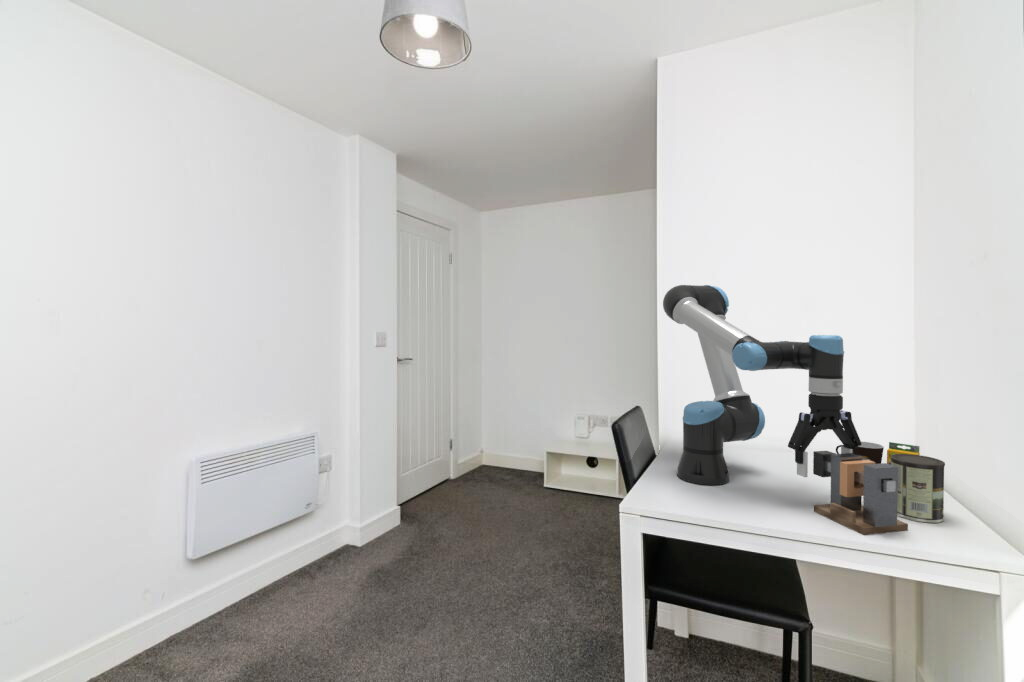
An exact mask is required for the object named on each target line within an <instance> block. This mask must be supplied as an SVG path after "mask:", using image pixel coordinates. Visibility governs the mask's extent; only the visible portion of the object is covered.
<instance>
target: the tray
mask: <svg viewBox="0 0 1024 682" xmlns="http://www.w3.org/2000/svg"><path fill="white" fill-rule="evenodd" d="M813 512H814V513H816V514H818V515H821V516H823V517H825V518H827V519H829V520H831V521H834V522H835V523H838V524H840V525H842V526H844V527H846V528H848V529H850V530H853V531H854V532H857V533H859V534H861V535H863V536H867V535H875V534H877V535H878V534H886V533H895V532H907V531H909V526H908V525H909V524H908V523H907V522H905V521H901V520H899V519H897V525H893V526H883V527H873V526H871V525H869V524H867V523H864V522H863V504H861V510H857V511H852V510H850V509H848V508H845V507H843V506H841V505H838V504H836V503H827V504H815V505H813Z"/></svg>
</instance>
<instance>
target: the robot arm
mask: <svg viewBox="0 0 1024 682" xmlns="http://www.w3.org/2000/svg"><path fill="white" fill-rule="evenodd" d="M662 301H663V302H662V307H663V311H664V312H665V314H666V316H668V318H669V319H671V320H672V321H674V322H675V323H677V324H678V325H685V326H686V327H688V328H689V329H691V330H693V331H694V332H695V333H697V336H698V339H699V344H700V346H701V350H702V354H703V357H704V361H705V364H706V369H707V373H708V375H709V378H710V379H709V380H710V382H711V386H712V390H713V393H714V396H715V397H714V399H713V400H701V401H694V402H693V401H692V402H691V403H688V404H687V405H685V406H684V408H683V414H682V415H683V416H682V422H683V423H682V427H683V428H682V429H683V431H682V433H683V434H682V435H683V436H682V437H683V439H682V440H683V441H682V444H683V446H682V454H681V457H680V459H679V462H678V465H677V467H676V468H677V469H676V471H677V475H676V476H677V477H678V478H679V479H681V480H683V481H686V482H687V483H692V484H697V485H704V486H718V485H719V486H720V485H724V484H727V483H729V481H730V471H729V469H728V466H727V462H726V460H725V456H724V443H730V442H742V441H743V442H744V441H745V442H746V441H748V440H749V441H750V440H753V439H756V438H758V436H760V435H761V434H762V432H763V430H764V428H765V425H766V416H765V414H764V411H763V409H762V407H760V406H759V405H758V404H757V403H754V402H752V399H751V395H750V394H748V393H746V392H745V391H744V389H743V387H742V386H743V385H742V383H741V380H740V377H739V373H738V369H739V370H741V371H749V372H750V371H751V372H756V371H766V370H768V371H769V370H787V369H790V370H791V369H795V370H805V371H808V392H810V393H809V394H808V403H807V404H808V407H809V409H810V412H809V413H807V412H806V413H805V412H802V411H800V412H799V414H798V421H797V423H796V425H795V428H794V430H793V433H792V435H791V437H790V440H789V441H788V444H787V447H788V448H790V449H792V450H794V451H795V452H794V461H795V463H796V475H798V476H800V477H803V478H808V472H809V471H808V470H809V469H808V466H809V465H808V460H809V457H808V451H806V450H807V449H808V447H809V446H810V444H811V443H812V441H813V440H814V439H815V437H816V436H817V434H818V433H821V431H827V430H832V431H833V433H834V434H835V435H836V437H837V438H838V439H839V441H840V442H841V443H842V445H844V446H845V447H840V454H846V453H853V454H854V449H858V446H861V442H862V441H861V439H860V436H859V434H858V432H857V429H856V427H855V424H854V421H853V417H852V412H850V411H847V410H843V408H844V407H843V406H844V397H843V395H842V394H843V393H844V392H843V390H844V372H843V371H844V357H845V356H844V354H845V351H844V340H843V339H844V338H843V337H842V336H841V335H836V334H834V335H833V334H830V335H829V334H828V335H827V334H826V335H825V334H820V335H819V334H818V335H817V334H815V335H814V334H813V335H810V336H809V338H808V341H806V342H802V341H789V340H781V341H780V340H779V341H774V342H773V341H767V342H766V341H760V340H759V339H757V338H755V337H753V336H752V335H750V334H748V333H746V331H743V329H740V328H738V327H737V326H735V325H734V324H732V323H730V322H728V321H727V320H726V315H727V313H728V312H729V308H728V307H729V306H730V301H729V298H728V296H727V293H726V292H725V291H724V290H723V289H722V288H720V287H718V286H715V285H714V286H713V285H708V284H704V285H694V284H693V285H691V284H680V285H675V286H674V287H671V288H670V289H669V290H668V291H666V293H665V295H664V297H663V300H662ZM737 368H738V369H737Z"/></svg>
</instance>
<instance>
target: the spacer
mask: <svg viewBox="0 0 1024 682" xmlns="http://www.w3.org/2000/svg"><path fill="white" fill-rule="evenodd" d="M867 464H875V462H873V461H870V460H860V461H846V462H840V495H843V496H845V497H855V496H862V497H863V493H864V484H862V483H861V485H854V472H860V471H864V465H867Z"/></svg>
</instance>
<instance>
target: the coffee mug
mask: <svg viewBox="0 0 1024 682" xmlns="http://www.w3.org/2000/svg"><path fill="white" fill-rule="evenodd" d="M841 447H845V446H844V445H843V444H839V445H838V446H836V448H835V453H836V454H840V453H839V450H838V449H840V448H841ZM884 447H885V446H884V445H882V444H879V443H874V442H869V441H861V446H858V449H854V454H856V455H859V456H862V460H870V461H873V462H875V464H881V463H882V461H883V456H884V455H883V454H884Z"/></svg>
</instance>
